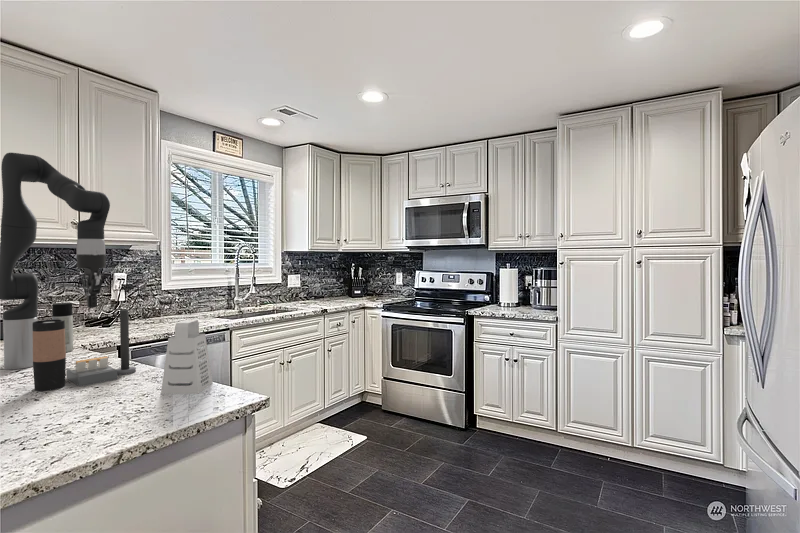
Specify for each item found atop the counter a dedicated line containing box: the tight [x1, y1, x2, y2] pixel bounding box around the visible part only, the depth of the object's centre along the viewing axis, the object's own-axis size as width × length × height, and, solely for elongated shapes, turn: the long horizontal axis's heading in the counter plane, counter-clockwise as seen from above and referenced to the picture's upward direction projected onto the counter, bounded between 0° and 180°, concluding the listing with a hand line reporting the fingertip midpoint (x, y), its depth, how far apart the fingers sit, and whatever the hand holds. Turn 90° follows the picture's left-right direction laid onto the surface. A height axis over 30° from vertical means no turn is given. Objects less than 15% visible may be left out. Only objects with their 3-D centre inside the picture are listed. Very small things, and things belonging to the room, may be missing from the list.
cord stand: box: [115, 309, 136, 376], centre depth 145 cm, size 6×6×21 cm
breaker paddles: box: [75, 356, 109, 372], centre depth 137 cm, size 1×8×3 cm, turn 141°
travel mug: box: [32, 319, 67, 392], centre depth 128 cm, size 8×8×20 cm
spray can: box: [51, 302, 74, 353], centre depth 177 cm, size 7×7×20 cm
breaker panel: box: [66, 363, 118, 387], centre depth 138 cm, size 14×10×3 cm
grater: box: [160, 319, 214, 395], centre depth 128 cm, size 10×10×20 cm
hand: (92, 307), depth 138 cm, fingers closed
